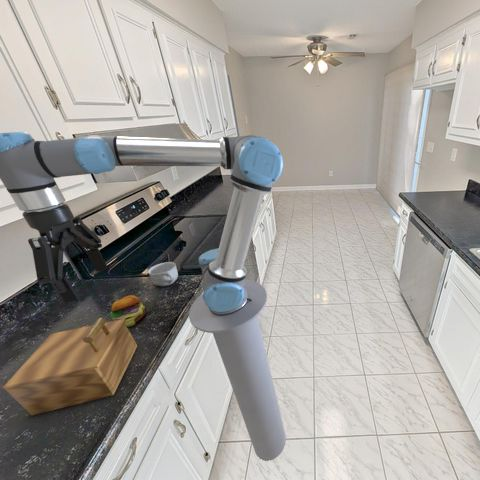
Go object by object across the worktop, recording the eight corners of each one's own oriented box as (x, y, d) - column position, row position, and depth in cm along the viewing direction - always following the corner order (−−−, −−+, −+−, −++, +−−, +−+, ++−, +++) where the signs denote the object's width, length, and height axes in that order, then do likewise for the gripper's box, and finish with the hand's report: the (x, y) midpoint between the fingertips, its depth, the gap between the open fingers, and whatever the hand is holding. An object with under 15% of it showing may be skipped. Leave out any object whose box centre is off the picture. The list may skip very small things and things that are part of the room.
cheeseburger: (113, 334, 89) (101, 309, 86) (119, 321, 98) (108, 299, 95) (146, 321, 93) (136, 297, 91) (149, 310, 103) (139, 288, 100)
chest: (137, 345, 84) (123, 321, 79) (113, 395, 69) (94, 368, 64) (71, 360, 80) (52, 335, 75) (31, 415, 66) (5, 389, 61)
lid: (126, 320, 79) (117, 304, 76) (98, 367, 64) (85, 350, 61) (52, 335, 75) (40, 319, 72) (4, 389, 61) (-14, 371, 58)
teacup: (151, 282, 116) (145, 267, 113) (176, 272, 123) (171, 258, 119) (159, 296, 107) (152, 280, 103) (185, 284, 113) (180, 269, 110)
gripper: (62, 193, 67) (98, 262, 76) (-31, 232, 45) (36, 320, 55) (94, 190, 68) (125, 258, 78) (19, 226, 46) (76, 313, 56)
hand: (88, 284), depth 66 cm, fingers open, 13 cm apart
